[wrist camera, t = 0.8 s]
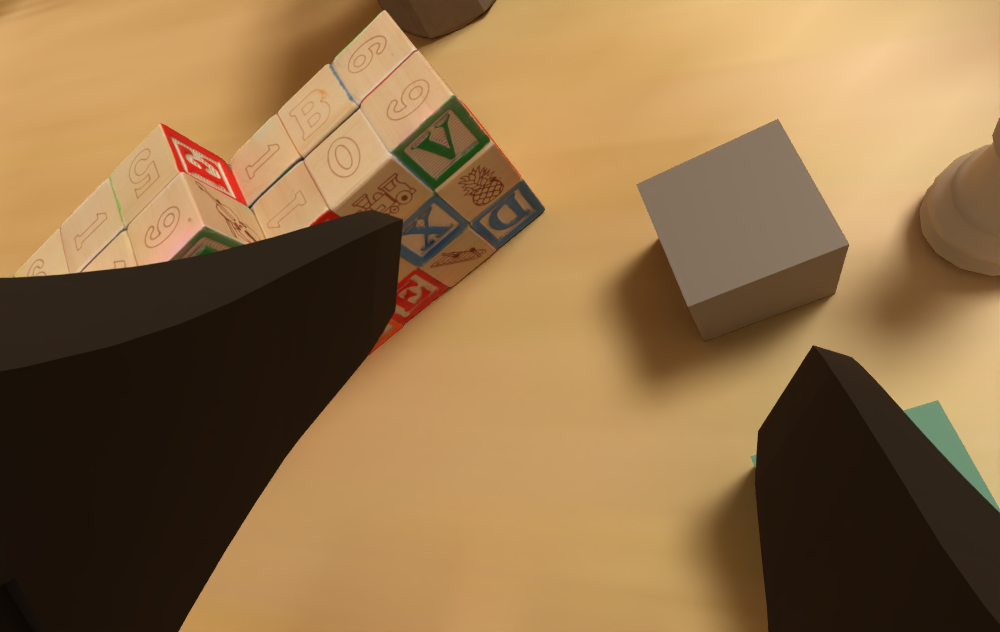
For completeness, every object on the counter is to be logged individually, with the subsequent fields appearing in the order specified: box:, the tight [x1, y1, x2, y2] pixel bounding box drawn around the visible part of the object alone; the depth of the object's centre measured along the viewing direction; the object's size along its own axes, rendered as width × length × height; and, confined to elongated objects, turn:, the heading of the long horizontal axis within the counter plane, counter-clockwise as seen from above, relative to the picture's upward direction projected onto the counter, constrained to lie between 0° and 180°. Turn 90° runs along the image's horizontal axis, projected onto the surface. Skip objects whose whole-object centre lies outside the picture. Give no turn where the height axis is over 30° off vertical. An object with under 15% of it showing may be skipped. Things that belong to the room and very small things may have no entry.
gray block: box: [637, 119, 849, 342], centre depth 22 cm, size 5×5×5 cm
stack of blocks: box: [9, 10, 545, 355], centre depth 26 cm, size 21×6×12 cm, turn 122°
